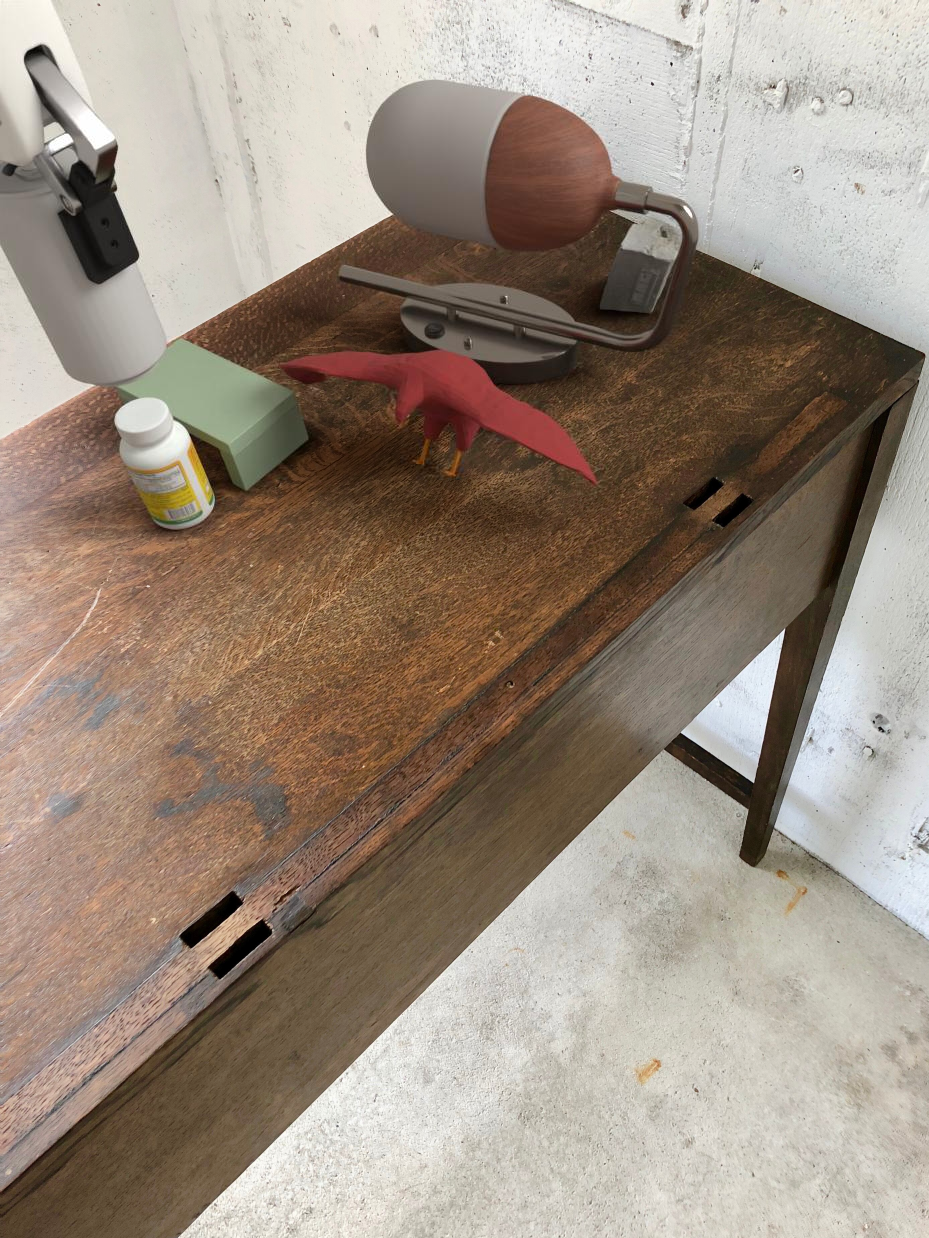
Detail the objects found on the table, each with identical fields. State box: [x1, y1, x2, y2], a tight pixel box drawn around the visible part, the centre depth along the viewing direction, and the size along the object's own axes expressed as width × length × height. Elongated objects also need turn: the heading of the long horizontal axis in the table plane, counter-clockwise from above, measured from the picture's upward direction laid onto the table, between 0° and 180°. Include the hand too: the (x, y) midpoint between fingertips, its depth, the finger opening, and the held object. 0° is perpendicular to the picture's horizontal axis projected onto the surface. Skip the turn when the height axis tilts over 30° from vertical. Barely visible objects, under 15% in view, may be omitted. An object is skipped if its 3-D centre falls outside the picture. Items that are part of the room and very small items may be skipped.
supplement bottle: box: [113, 398, 216, 531], centre depth 74 cm, size 5×5×10 cm
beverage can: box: [0, 146, 168, 388], centre depth 55 cm, size 6×6×12 cm
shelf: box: [114, 337, 310, 492], centre depth 81 cm, size 14×8×5 cm, turn 54°
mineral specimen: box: [599, 215, 682, 314], centre depth 87 cm, size 7×9×8 cm
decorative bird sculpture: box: [278, 350, 599, 487], centre depth 76 cm, size 28×9×15 cm
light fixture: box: [338, 79, 700, 385], centre depth 79 cm, size 11×22×34 cm
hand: (74, 249), depth 54 cm, fingers closed on beverage can, 6 cm apart
